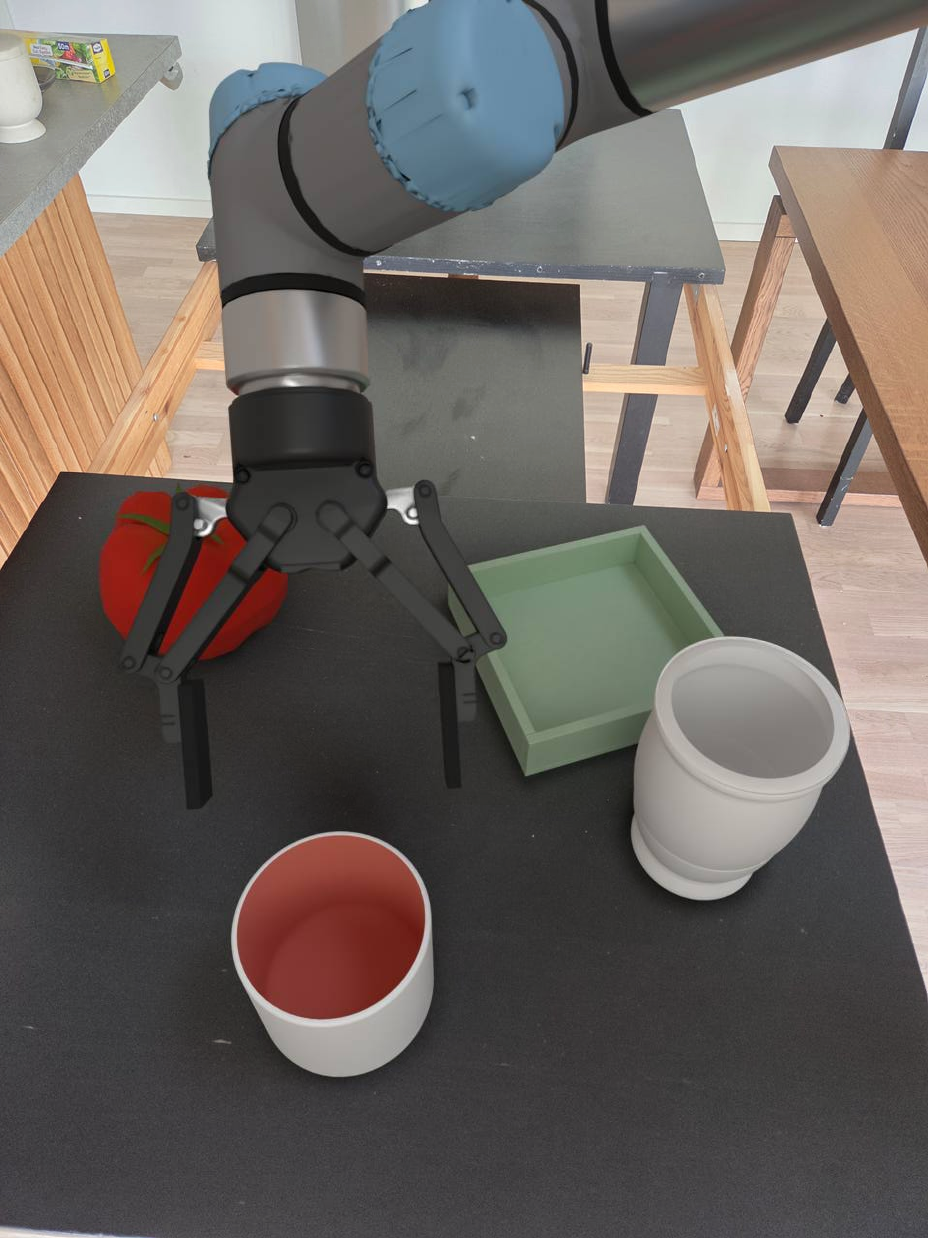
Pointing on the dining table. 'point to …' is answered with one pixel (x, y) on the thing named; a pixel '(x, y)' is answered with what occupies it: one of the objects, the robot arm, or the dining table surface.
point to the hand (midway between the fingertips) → (328, 793)
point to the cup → (337, 951)
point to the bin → (582, 642)
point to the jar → (731, 762)
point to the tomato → (139, 552)
